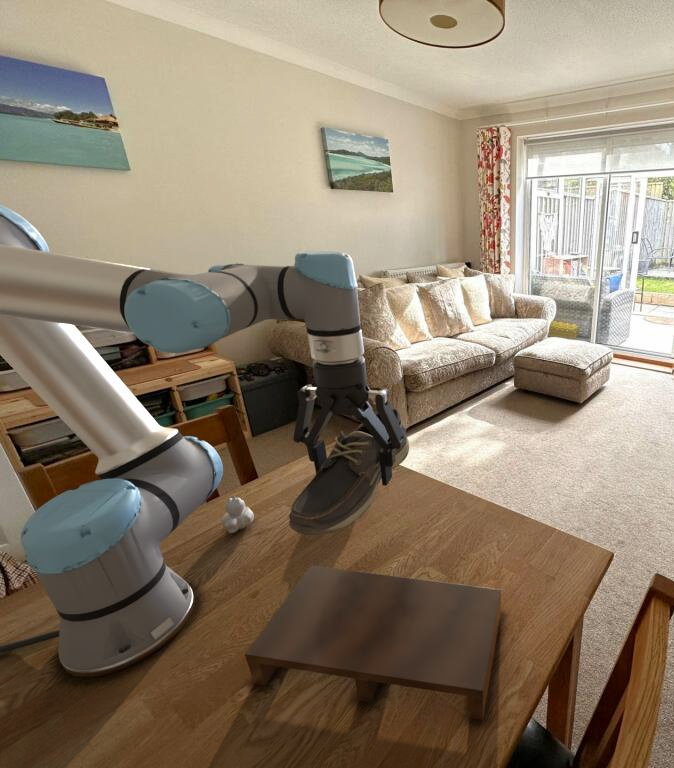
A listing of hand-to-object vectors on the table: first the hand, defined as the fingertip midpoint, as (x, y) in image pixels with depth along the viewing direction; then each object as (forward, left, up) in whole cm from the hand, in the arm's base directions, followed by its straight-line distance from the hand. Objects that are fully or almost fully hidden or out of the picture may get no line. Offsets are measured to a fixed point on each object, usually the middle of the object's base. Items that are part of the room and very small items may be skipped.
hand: (355, 478), depth 70 cm
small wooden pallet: (+11, -16, -18) cm, 26 cm away
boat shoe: (0, 0, -2) cm, 2 cm away
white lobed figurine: (-29, +4, -18) cm, 34 cm away
